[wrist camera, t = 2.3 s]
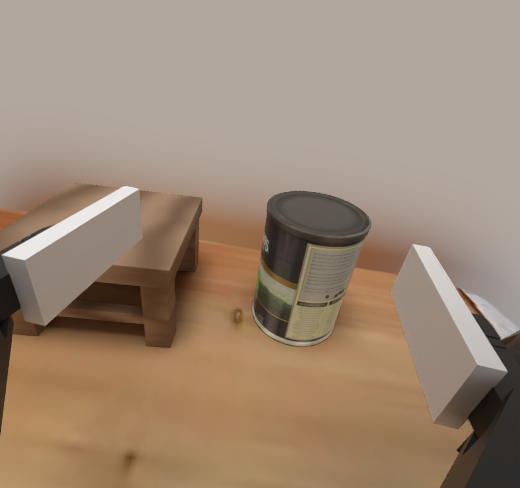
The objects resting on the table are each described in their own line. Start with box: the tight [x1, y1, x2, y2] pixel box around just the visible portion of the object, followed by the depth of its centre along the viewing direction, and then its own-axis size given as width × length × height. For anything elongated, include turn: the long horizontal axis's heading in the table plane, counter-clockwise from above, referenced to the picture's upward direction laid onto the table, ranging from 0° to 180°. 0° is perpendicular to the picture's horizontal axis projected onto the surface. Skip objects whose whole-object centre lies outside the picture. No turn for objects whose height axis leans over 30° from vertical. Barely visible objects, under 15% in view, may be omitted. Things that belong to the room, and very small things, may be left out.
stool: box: [0, 183, 202, 348], centre depth 34 cm, size 16×16×10 cm
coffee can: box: [252, 191, 371, 346], centre depth 34 cm, size 10×10×14 cm
